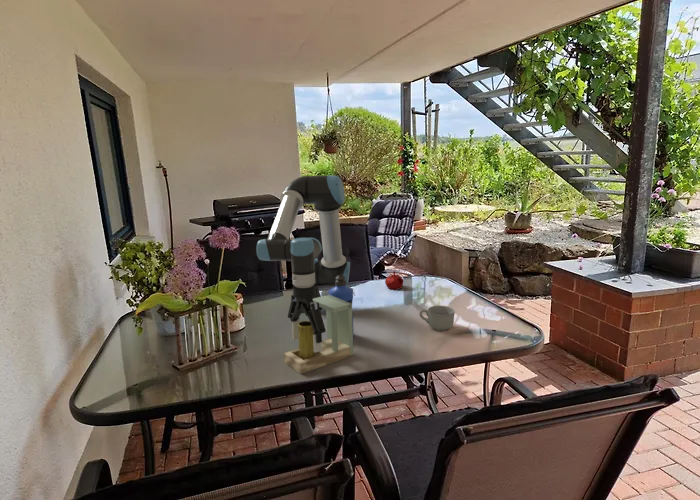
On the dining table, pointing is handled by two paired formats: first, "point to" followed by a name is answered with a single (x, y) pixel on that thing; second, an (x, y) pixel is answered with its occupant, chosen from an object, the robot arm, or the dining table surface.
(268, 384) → the dining table surface
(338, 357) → the socket block
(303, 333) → the vase
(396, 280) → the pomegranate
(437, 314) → the teacup
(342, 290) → the water bottle
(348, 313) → the pale green stool
